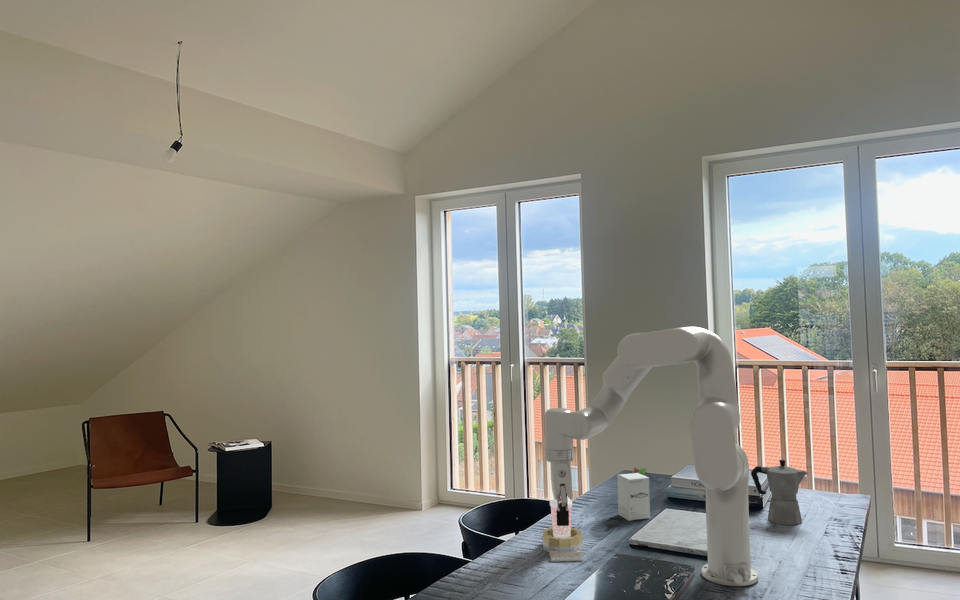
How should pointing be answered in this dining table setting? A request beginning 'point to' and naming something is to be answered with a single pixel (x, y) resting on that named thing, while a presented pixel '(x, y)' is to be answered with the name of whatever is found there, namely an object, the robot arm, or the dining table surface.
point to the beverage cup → (557, 530)
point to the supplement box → (633, 496)
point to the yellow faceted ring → (562, 542)
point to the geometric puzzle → (640, 471)
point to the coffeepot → (781, 492)
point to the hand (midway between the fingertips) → (561, 520)
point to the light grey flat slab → (564, 552)
